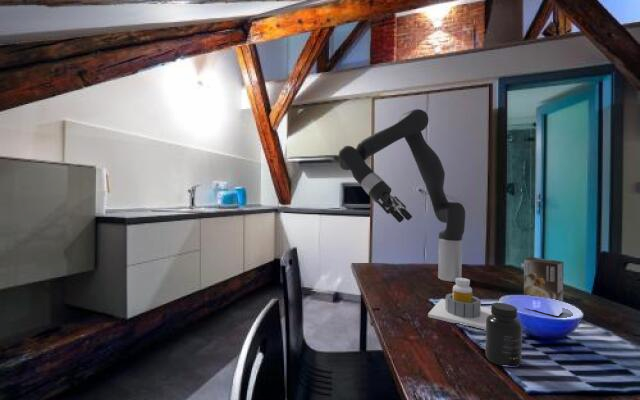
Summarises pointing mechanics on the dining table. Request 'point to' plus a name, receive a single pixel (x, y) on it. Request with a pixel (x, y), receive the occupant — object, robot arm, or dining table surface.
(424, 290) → the dining table surface
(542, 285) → the coffee box
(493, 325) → the supplement bottle
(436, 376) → the dining table surface
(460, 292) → the supplement bottle
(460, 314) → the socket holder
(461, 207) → the robot arm
